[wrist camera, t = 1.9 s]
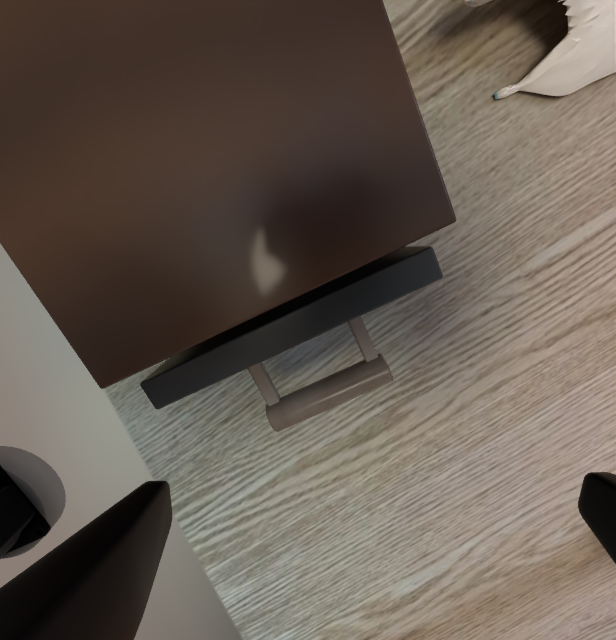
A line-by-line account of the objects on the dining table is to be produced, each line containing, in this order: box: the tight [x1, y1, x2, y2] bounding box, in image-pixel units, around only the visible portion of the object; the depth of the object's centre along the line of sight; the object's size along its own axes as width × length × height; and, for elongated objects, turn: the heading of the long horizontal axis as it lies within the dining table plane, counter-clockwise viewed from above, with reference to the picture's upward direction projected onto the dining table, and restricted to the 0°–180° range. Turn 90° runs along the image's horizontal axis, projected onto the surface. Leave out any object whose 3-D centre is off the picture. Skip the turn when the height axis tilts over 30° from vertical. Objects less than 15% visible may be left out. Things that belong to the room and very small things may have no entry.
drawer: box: [140, 246, 443, 432], centre depth 13 cm, size 18×11×7 cm, turn 25°
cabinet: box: [0, 0, 456, 389], centre depth 12 cm, size 15×13×9 cm
